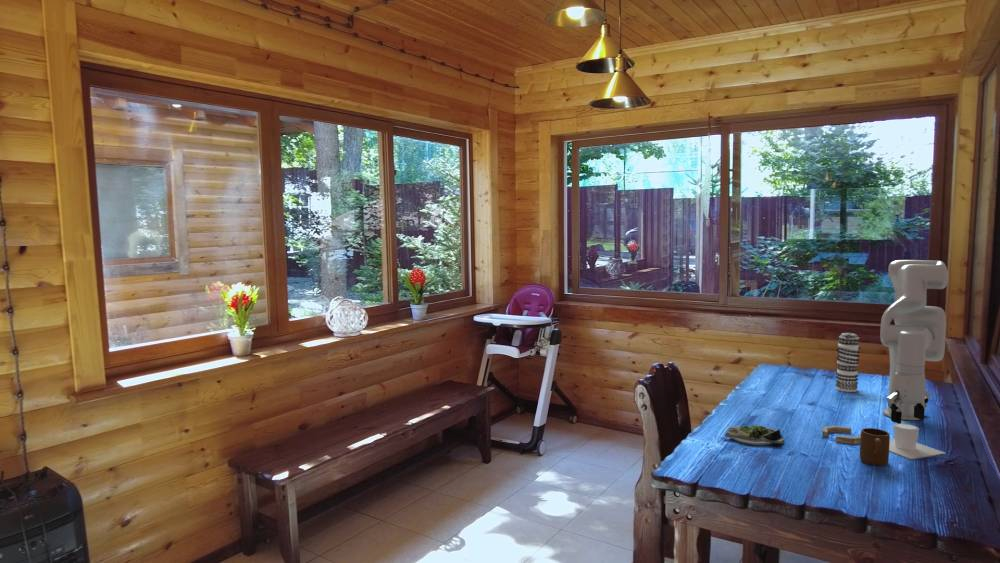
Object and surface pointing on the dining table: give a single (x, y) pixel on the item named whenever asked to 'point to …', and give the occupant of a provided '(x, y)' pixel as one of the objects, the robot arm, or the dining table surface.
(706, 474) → the dining table surface
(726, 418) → the dining table surface
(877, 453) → the mug
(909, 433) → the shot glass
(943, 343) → the robot arm
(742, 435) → the salad plate
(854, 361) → the decorative candle
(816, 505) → the dining table surface
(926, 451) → the rubber mat
